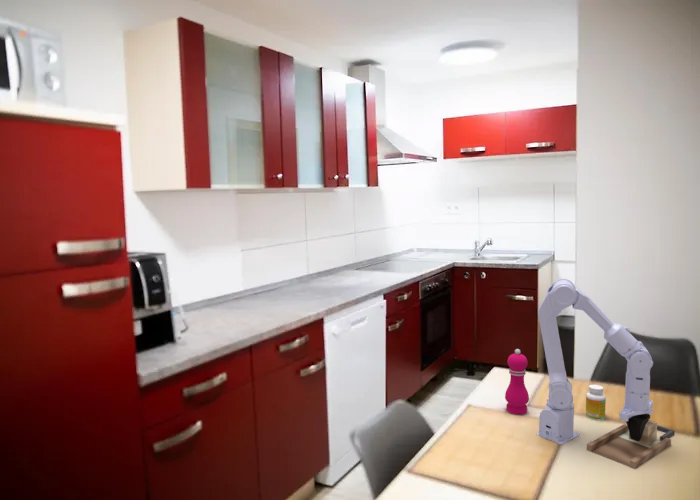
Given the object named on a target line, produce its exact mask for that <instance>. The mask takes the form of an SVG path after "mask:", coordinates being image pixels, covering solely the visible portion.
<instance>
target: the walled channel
mask: <svg viewBox="0 0 700 500" xmlns="http://www.w3.org/2000/svg"><path fill="white" fill-rule="evenodd" d="M670 446H672V438H665V439H664V440H662V441H660V440H656V441H654V442H653V443H651V444H649V445H645V444H642V443H640V442H637V441H634V440H631V439H629V429H628V426H627V423H624V424H622V425H620V426H618V427H616V428H614V429H613V430H611V431H609V432H607V433H605V434H603V435H601V436H599V437H598V438H596V439H593V440H591V441H590V442H588V443H587V444H586V451H588V452H591V453H592V454H595V455H598V456H601V457H604V458H605V459H609V460H611V461H614V462H616V463H619V464H622V465H623V466H625V467H626V466H627V467H629V468H631V469H634V470H635V469H637V468H638V467H640V466H641V465H643V464H644V463H646V462H647V461H649V460H650V459H652V458H653V457H655V456H657V455H658V454H660V453H662V451H664V450H666V449H667V448H669V447H670Z"/></svg>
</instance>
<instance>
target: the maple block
mask: <svg viewBox="0 0 700 500" xmlns="http://www.w3.org/2000/svg"><path fill="white" fill-rule="evenodd" d="M657 425H658V422H657V421H653V420H650V419H649V420H648V422H647V423H646V425H645V428H644V430H643V434H642V437H641V439H640V441H637V442H640V443H642V444H645V445H649V444H651V443H653V442H654V441H656V440H657V437H658V435H657V434H658V430H657ZM629 439H631V437H630V433H629ZM631 440H633V439H631ZM634 441H636V440H634Z"/></svg>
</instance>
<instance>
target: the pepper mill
mask: <svg viewBox="0 0 700 500" xmlns="http://www.w3.org/2000/svg"><path fill="white" fill-rule="evenodd" d="M528 363H529V362H528V359H527V357H526V356H525V355H524V354H522V353H521V349H519V348H516V349H514V353H512V354H510V355H509V356H508V358H507V365H508V367H509V368H508V370H509V371H508V374H509V375H510V382H509V383H508V384H509V385H508V386H507V387H506V391H505V394H504V398H505V401H506V402H507V403H506V407H505V408H506V412H508V413H510V414H512V415H525V414H527V413H528V405H527V404H529V402H530V396H529V395H530V394H529V393H528V392H529V391H528V389H527V388H526V384H525V375H526V374H527V373H526V371H527V370H526V368H527V366H528Z"/></svg>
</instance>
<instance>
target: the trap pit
mask: <svg viewBox="0 0 700 500" xmlns="http://www.w3.org/2000/svg"><path fill="white" fill-rule="evenodd" d="M657 432H662V433H664V434H662V435H660V436H659V441H662V440H664V439H665V438H669V439H671V437H673V436H675V430H674V429H670V428H668V427H665V426H661V425H658V424H657Z"/></svg>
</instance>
